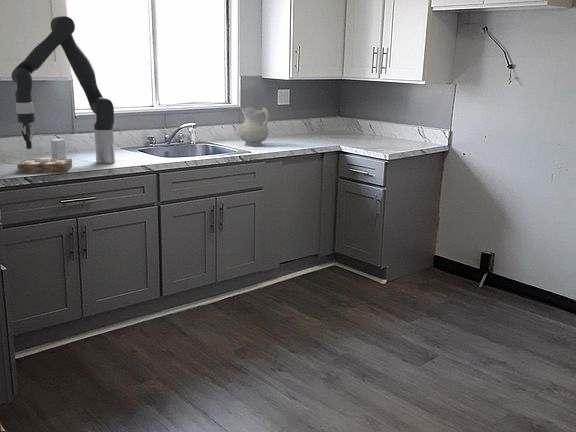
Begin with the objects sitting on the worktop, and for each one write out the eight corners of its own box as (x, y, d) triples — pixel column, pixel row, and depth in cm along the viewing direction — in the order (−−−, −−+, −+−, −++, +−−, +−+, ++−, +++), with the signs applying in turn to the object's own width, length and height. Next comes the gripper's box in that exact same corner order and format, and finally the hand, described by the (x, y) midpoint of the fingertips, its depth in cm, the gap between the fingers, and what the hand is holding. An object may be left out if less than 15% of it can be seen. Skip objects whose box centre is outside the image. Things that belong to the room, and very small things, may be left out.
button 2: (65, 164, 298) (65, 160, 298) (64, 165, 294) (64, 161, 294) (57, 164, 297) (56, 160, 297) (55, 165, 294) (55, 161, 293)
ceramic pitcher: (276, 146, 394) (278, 107, 390) (263, 147, 377) (264, 107, 372) (246, 144, 403) (248, 106, 398) (232, 145, 385) (233, 105, 381)
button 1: (35, 164, 295) (35, 160, 295) (33, 166, 292) (33, 161, 291) (26, 164, 295) (26, 160, 294) (24, 166, 291) (24, 161, 290)
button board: (72, 166, 305) (71, 157, 304) (67, 172, 290) (66, 163, 288) (25, 167, 301) (24, 158, 299) (18, 173, 285) (17, 163, 284)
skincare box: (60, 161, 318) (58, 138, 315) (66, 162, 317) (65, 139, 314) (51, 163, 313) (50, 140, 310) (58, 164, 311) (56, 140, 308)
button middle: (50, 161, 296) (50, 157, 296) (49, 163, 293) (48, 159, 292) (41, 161, 296) (41, 157, 295) (40, 163, 292) (39, 159, 291)
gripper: (30, 113, 281) (34, 150, 286) (36, 110, 294) (40, 146, 298) (13, 113, 280) (17, 151, 284) (20, 110, 292) (24, 146, 297)
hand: (29, 148), depth 291 cm, fingers closed
